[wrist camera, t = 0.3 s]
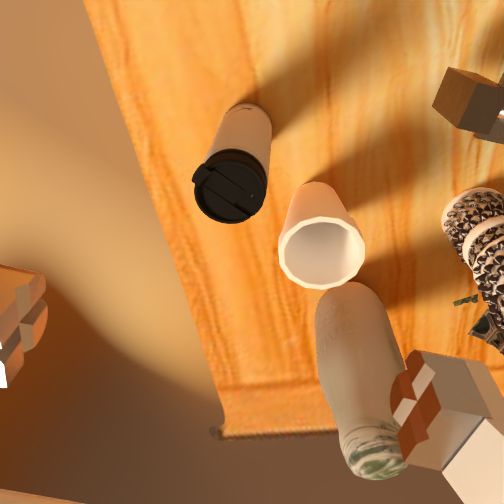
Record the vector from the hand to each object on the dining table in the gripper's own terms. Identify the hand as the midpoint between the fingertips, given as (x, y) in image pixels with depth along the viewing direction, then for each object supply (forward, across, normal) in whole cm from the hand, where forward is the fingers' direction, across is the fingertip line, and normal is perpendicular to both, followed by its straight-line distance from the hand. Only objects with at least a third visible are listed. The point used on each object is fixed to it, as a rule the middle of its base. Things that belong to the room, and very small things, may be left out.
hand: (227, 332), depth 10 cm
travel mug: (+46, +1, +9) cm, 47 cm away
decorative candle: (+46, -31, +14) cm, 57 cm away
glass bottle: (+46, -19, +31) cm, 59 cm away
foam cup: (+46, -10, +17) cm, 51 cm away
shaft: (+41, -27, -1) cm, 49 cm away
